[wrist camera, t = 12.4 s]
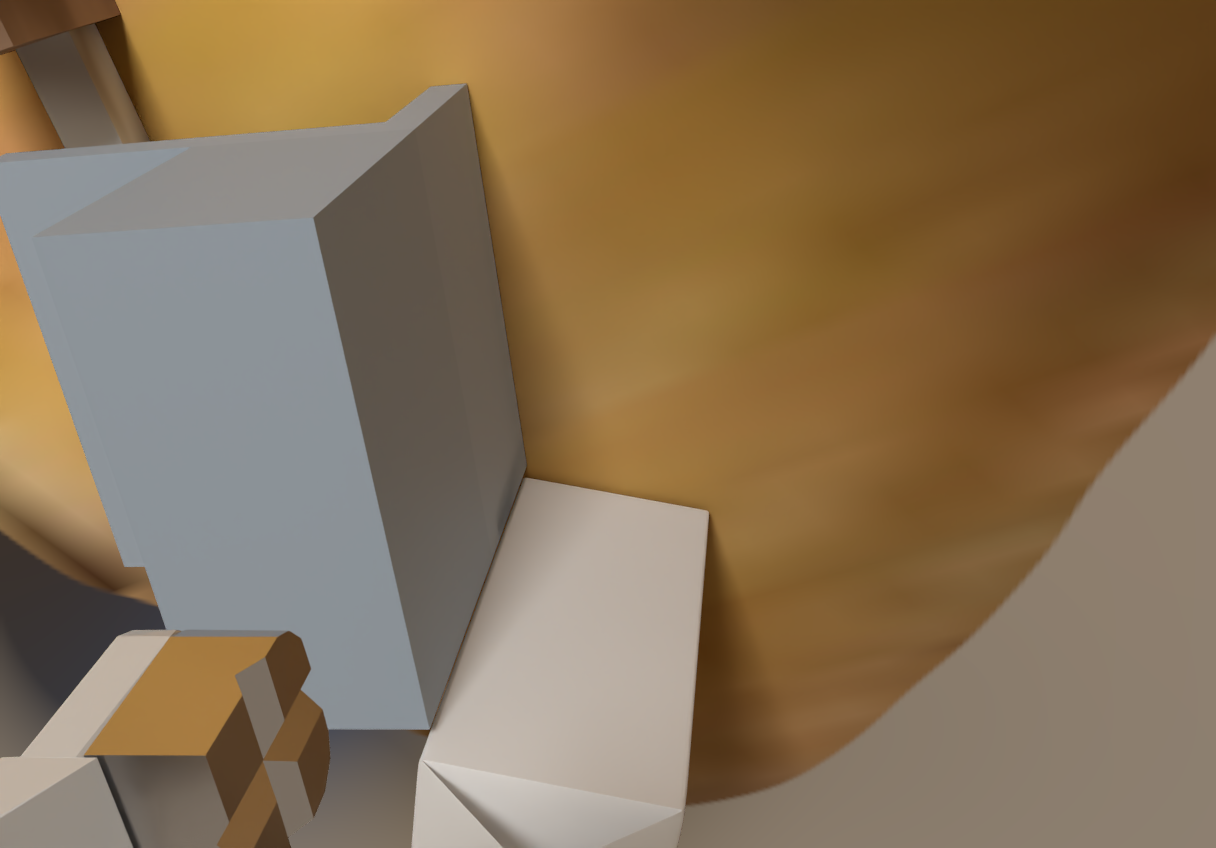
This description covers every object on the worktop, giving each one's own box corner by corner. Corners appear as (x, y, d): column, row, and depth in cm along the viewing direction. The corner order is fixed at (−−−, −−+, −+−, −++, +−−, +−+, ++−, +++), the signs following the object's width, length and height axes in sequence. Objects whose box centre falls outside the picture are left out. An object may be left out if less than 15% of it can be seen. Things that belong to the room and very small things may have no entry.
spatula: (-46, -77, 36) (-184, -61, 31) (60, -118, 35) (-64, -107, 30) (190, 394, 43) (111, 473, 38) (284, 370, 42) (216, 448, 37)
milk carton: (506, 622, 46) (360, 1070, 30) (524, 472, 43) (371, 883, 26) (679, 654, 46) (631, 1126, 29) (710, 507, 43) (676, 944, 26)
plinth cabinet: (92, 116, 39) (-230, 255, 26) (466, 83, 37) (313, 217, 24) (202, 476, 45) (-15, 728, 32) (526, 465, 43) (429, 729, 30)
